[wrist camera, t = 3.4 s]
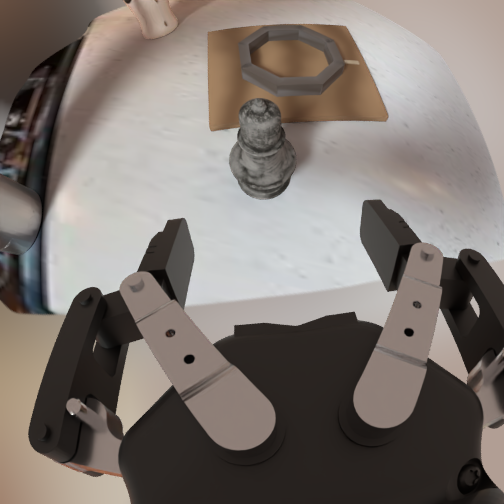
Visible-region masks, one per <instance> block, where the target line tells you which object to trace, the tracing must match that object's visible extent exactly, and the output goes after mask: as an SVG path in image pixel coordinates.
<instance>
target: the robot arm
mask: <svg viewBox="0 0 504 504" xmlns="http://www.w3.org/2000/svg"><path fill="white" fill-rule="evenodd" d="M41 217H42V205H41V200H40V197H39V195H38V193H36V192H35V191H34V190H32V189H30V188H28V187H26V186H24V185H22V184H20V183H17V182H16V181H14V180H12V179H10V178H8V177H6V176H4V175H2V174H0V251H2V252H7V253H12V254H17V255H19V254H23V253H24V252H26V251H27V250H28V249H29V248H30V247H31V245H32V244H33V242H34V240H35V238H36V236H37V233H38V231H39V227H40V223H41ZM360 238H361V242H362V244H363V246H364V247H365V249H366V251H367V253H368V255H369V257H370V259H371V260H372V262H373V264H374V266H375V268H376V270H377V272H378V274H379V276H380V278H381V280H382V282H383V284H384V286H385V288H386V290H387V291H388V292H389V291H395V290H397V294H396V297H395V300H394V302H393V305H392V308H391V310H390V313H389V316H388V318H387V321H386V323H385V326H384V328H383V327H381V326H379V325H377V324H374V323H370V322H365V321H359V320H357V317H356V314H355V312H349V313H343V314H336V315H329V316H325V317H322V318H319V319H316V320H313V321H310V322H308V323H305V324H302V325H298V326H290V325H280V324H270V323H258V324H246V325H235V326H234V335H231V336H228V337H225V338H223V339H221V340H219V341H217V342H216V343H214V344H212V343H211V342H210V341H209V340H208V339H207V338H206V336H205V335H204V334H203V333H202V332H201V331H200V329H199V328H198V327H197V326H196V325H195V324H194V322H193V321H192V320H191V319H190V317H189V316H188V315H187V314H186V313H185V312H184V306H185V301H186V296H187V291H188V286H189V281H190V276H191V272H192V267H193V263H194V248H193V244H192V240H191V237H190V233H189V229H188V226H187V222H186V220H185V218H180V219H173V220H168V221H167V223H166V226H165V228H164V230H163V232H158V233H157V234H156V235H155V236H154V237H153V238H152V239H151V241H150V243H149V246H148V248H147V250H146V252H145V253H146V254H145V255H144V257H143V259H142V262H141V264H140V266H139V269H138V271H137V272H136V273H133V274H131V275H129V276H128V277H127V278H125V279H124V280H123V282H122V283H121V285H120V290H118V291H116V292H113V293H109V294H106V295H103V294H102V293H101V291H100V290H99V289H98V288H96V287H90V288H87V289H84V290H83V291H81V292H80V293H79V294H77V296H76V297H75V298H74V300H73V302H72V304H71V306H70V308H69V311H68V313H67V315H66V318H65V320H64V322H63V325H62V327H61V329H60V332H59V335H58V337H57V339H56V342H55V345H54V347H53V350H52V353H51V356H50V358H49V361H48V364H47V367H46V370H45V373H44V376H43V379H42V382H41V385H40V389H39V392H38V395H37V399H36V402H35V406H34V410H33V414H32V418H31V422H30V426H29V433H28V435H29V441H30V444H31V445H32V447H33V448H34V450H36V451H37V452H39V453H40V454H42V455H44V456H46V457H48V458H50V459H52V460H53V461H55V462H56V463H59V464H61V465H63V466H65V467H68V468H70V469H72V470H75V471H77V472H82V473H85V474H87V475H90V476H93V477H98V476H101V475H103V474H108V475H112V476H117V477H123V479H124V482H125V484H126V487H127V490H128V493H129V497H130V501H131V504H504V493H503V492H502V491H501V490H500V489H499V488H498V487H497V486H496V485H495V484H494V483H493V481H492V480H491V479H490V478H489V476H488V475H487V473H486V472H485V470H484V468H483V465H482V461H481V437H482V430H483V429H484V428H486V427H490V428H498V427H500V426H502V425H503V424H504V284H503V283H502V281H501V280H500V279H499V277H498V276H497V274H496V273H495V271H494V270H493V269H492V267H491V266H490V265H489V263H488V262H487V260H486V259H485V258H484V257H483V256H482V255H481V254H480V253H479V252H477V251H475V250H472V249H463V250H461V251H460V253H459V256H458V259H455V258H447V257H443V254H442V252H441V251H440V250H439V249H438V248H437V247H435V246H433V245H431V244H428V243H422V242H421V241H420V239H419V238H418V237H417V236H416V234H415V233H414V232H413V231H412V229H411V228H409V226H408V224H407V223H406V222H405V221H404V219H403V218H402V217H401V216H400V215H399V214H398V213H396V212H394V211H393V210H391V209H388V208H387V207H386V206H385V204H384V203H383V202H382V201H381V200H365V201H364V202H363V206H362V217H361V226H360ZM473 296H474V298H475V300H476V301H477V303H478V305H479V308H480V315H479V318H478V317H477V315H476V313H475V311H474V309H473V308H472V306H471V304H470V301H471V299H472V297H473ZM439 308H440V309H441V311H442V313H443V315H444V317H445V319H446V322H447V324H448V326H449V328H450V330H451V333H452V335H453V337H454V340H455V342H456V344H457V347H458V349H459V352H460V354H461V356H462V359H463V362H464V364H465V367H466V369H467V372H468V377H467V384H465V383H464V382H462V381H461V380H460V379H458V378H457V377H455V376H454V375H452V374H451V373H450V372H448V371H447V370H445V369H444V368H442V367H441V366H439V365H438V364H437V363H435V362H434V361H432V360H431V359H429V358H428V355H429V351H430V347H431V343H432V339H433V335H434V330H435V325H436V321H437V317H438V311H439ZM143 338H144V339H145V341H146V343H147V344H148V346H149V348H150V349H151V351H152V353H153V354H154V356H155V358H156V359H157V361H158V362H159V364H160V365H161V367H162V369H163V370H164V372H165V374H166V375H167V376H168V378H169V380H170V381H171V383H172V384H173V385H172V386H171V387H170V388H169V389H168V390H167V391H166V392H165V393H164V394H163V395H162V396H161V397H160V398H159V400H158V401H157V402H156V403H155V404H154V405H153V406H152V407H151V408H150V409H149V410H148V411H147V412H146V413H145V414H144V415H143V416H142V417H141V418H140V419H139V420H138V421H137V422H136V423H135V424H134V425H133V426H132V427H131V428H130V429H129V430H128V431H127V432H126V434H125V436H124V434H123V426H122V422H121V420H120V418H119V417H118V416H117V415H116V408H117V402H118V396H119V390H120V385H121V380H122V374H123V369H124V365H125V360H126V355H127V351H128V346H129V343H130V342H133V341H136V340H140V339H143ZM95 340H96V341H97V342H96V345H95V348H94V352H93V346H94V343H95Z"/></svg>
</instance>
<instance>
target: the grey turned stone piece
mask: <svg viewBox="0 0 504 504" xmlns="http://www.w3.org/2000/svg"><path fill="white" fill-rule="evenodd" d="M239 123H240V129H239V131H238V134H237V140H238V141H237V142H236V144H235V145H234V146H233V148H232V150H231V153H230V159H229V164H230V168H231V171H232V173H233V175H234V176H235V178H236V179H237V180H238V183H239V185H240V187H241V189H242V190H243V191H244V192H245V193H246V194H247V195H249V196H251V197H253V198H256V199H271V198H274V197H276V196H278V195H280V194H281V193H282V192H283V191H285V189H286V188H287V186H288V185H289V181H290V177H291V175H292V174H293V172H294V170H295V166H296V154H295V151H294V148H293V147H292V145H291V144H290V143H289V141H287V140H286V139H285V132H284V130H283V128H282V127H281V112H280V110H279V107H278V106H277V105H276V104H275V103H274V102H272V101H270V100H268V99H264V98H255V99H251V100H249V101H247V102H246V103H244V104H243V105H242V107H241V108H240V110H239Z"/></svg>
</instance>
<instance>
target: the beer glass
mask: <svg viewBox="0 0 504 504" xmlns="http://www.w3.org/2000/svg"><path fill="white" fill-rule="evenodd" d="M123 1H124V3H125V4H126V5H127V6H128V8H129V9H130V10H131V11H132V12H133V14H134V15H135V16H136V17H137V19H138V21H139V23H140V26H141V31H142V35H143V37H144V38H146V39H156V38H160V37H163V36H165V35H167V34H169V33H171V32H172V31H173V30H175V28H176V27H177V26H178V20H177V18H176V17H175V15H174V14H173V12H172V10H171V8H170V4H169V0H123Z"/></svg>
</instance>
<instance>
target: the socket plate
mask: <svg viewBox="0 0 504 504" xmlns="http://www.w3.org/2000/svg"><path fill="white" fill-rule="evenodd" d="M208 95H209V127H210V129H211V131H217V130H223V129H230V128H238V127H240V123H239V110H240V108H241V107H242V105H243V104H244V103H246V102H247V101H249V100H251V99H255V98H264V99H268V100H270V101H272V102H274V103H275V104H276V105H277V106H278V107H279V110H280V112H281V123H290V122H307V121H385V122H386V120H387V118H388V115H387V112H386V109H385V107H384V104H383V102H382V99H381V97H380V95H379V92H378V90H377V88H376V85H375V83H374V81H373V79H372V76H371V74H370V72H369V70H368V68H367V66H366V64H365V62H364V60H363V58H362V56H361V54H360V52H359V50H358V48H357V46H356V44H355V42H354V40H353V38H352V37H351V35H350V33H349V31H348V29H347V28H346V26H338V25H320V24H280V25H262V26H250V27H240V28H232V29H225V30H218V31H212V32H208Z"/></svg>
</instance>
